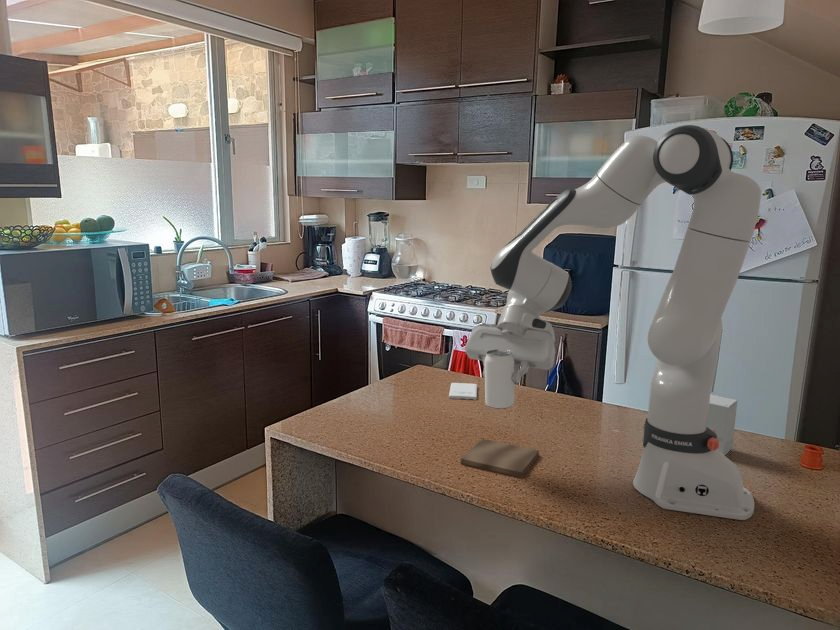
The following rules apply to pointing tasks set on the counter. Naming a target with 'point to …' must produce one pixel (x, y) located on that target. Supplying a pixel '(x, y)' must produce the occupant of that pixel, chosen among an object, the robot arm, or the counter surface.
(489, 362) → the can
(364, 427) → the counter surface
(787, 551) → the counter surface
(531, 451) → the walnut board
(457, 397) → the external hard drive
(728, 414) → the supplement box
